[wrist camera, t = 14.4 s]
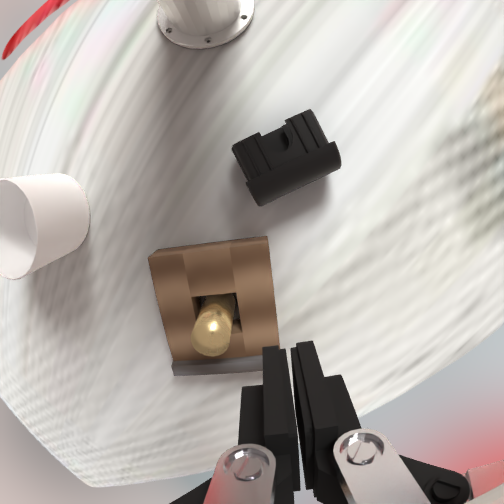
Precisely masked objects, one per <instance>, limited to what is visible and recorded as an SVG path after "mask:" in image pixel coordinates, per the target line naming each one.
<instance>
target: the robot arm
mask: <svg viewBox="0 0 504 504" xmlns="http://www.w3.org/2000/svg"><path fill="white" fill-rule="evenodd" d="M157 1H158V3H159V8H158V12H157V20H158V25H159V27H160V29H161V31H162V32H163V34H164V35H165V36H166V37H167V38H168V39H169V40H170V41H172V42H173V43H175V44H177V45H180V46H183V47H187V48H192V49H204V48H212V47H215V46H219V45H222V44H224V43H227V42H229V41H231V40H232V39H234V38H236V37H237V36H238V35H240V34H241V33H242V32H243V31H244V30H245V29H246V28H247V26H248V25H249V24H250V21H251V19H252V17H253V13H254V0H157ZM243 19H246V20H243ZM170 32H171V33H170ZM208 41H210V43H207V42H208ZM262 358H263V385H256V386H244V387H242V393H241V408H240V423H239V437H238V446H234V447H232V448H230V449H228V450H227V451H225V452H224V453H223V454H222V455H221V457H220V458H219V460H218V462H217V465H216V468H215V471H214V474H213V477H212V478H210V479H209V480H207V481H206V482H204V483H203V484H201V485H200V486H198V487H196V488H195V489H193V490H192V491H190V492H188V493H187V494H185V495H183V496H182V497H180V498H178V499H176V500H175V501H173V502H171V503H170V504H294V493H293V491H300V469H299V450H298V434H299V441H300V448H301V455H302V463H303V470H304V478H305V485H306V490H309V489H313V493H314V497H317V501H319V502H321V503H323V504H504V460H501V461H498V462H495V463H492V464H488V465H485V466H481V467H477V468H473V469H469V470H468V471H467V472H466V473H464V474H459V473H457V472H455V471H451V470H447V469H444V468H440V467H437V466H433V465H430V464H426V463H423V462H420V461H417V460H414V459H410V458H407V457H404V456H401V455H398V454H397V452H396V451H395V449H394V448H393V446H392V445H391V443H390V442H389V440H388V439H387V438H386V437H385V436H384V435H383V434H382V433H380V432H378V431H375V430H372V429H362V428H361V426H360V423H359V420H358V417H357V415H356V412H355V409H354V407H353V404H352V401H351V399H350V396H349V393H348V391H347V388H346V385H345V383H344V380H343V378H342V376H341V375H334V376H328V377H324V375H323V372H322V369H321V365H320V362H319V359H318V355H317V352H316V349H315V346H314V343H313V341H307V342H299V343H296V347H294V348H291V361H292V374H293V387H294V400H295V410H294V403H293V396H292V389H291V383H290V376H289V369H288V362H287V356H286V349H279V345H275V346H266V347H262ZM295 412H296V417H295ZM296 420H297V425H296ZM297 427H298V434H297Z"/></svg>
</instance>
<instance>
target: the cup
mask: <svg viewBox="0 0 504 504" xmlns="http://www.w3.org/2000/svg"><path fill="white" fill-rule="evenodd" d="M89 224H90V210H89V204H88V200H87V197H86V195H85V193H84V191H83V189H82V187H81V186H80V185H79V183H78V182H77V181H75V180H74V179H73V178H72V177H70V176H68V175H65V174H60V173H56V174H43V175H31V176H20V177H10V178H2V179H0V275H1V276H3V277H5V278H7V279H12V280H17V279H21V278H23V277H25V276H26V275H28V274H30V273H32V272H34V271H36V270H38V269H40V268H41V267H43V266H45V265H47V264H49V263H51V262H53V261H55V260H57V259H59V258H61V257H63V256H65V255H67V254H69V253H71V252H73V251H74V250H76V249H77V248H78V247H79V246H80V245H81V244H82V242H83V241H84V239H85V237H86V235H87V232H88V228H89Z"/></svg>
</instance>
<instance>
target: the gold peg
mask: <svg viewBox="0 0 504 504" xmlns="http://www.w3.org/2000/svg"><path fill="white" fill-rule="evenodd" d="M234 310H235V298H234V295H233V294H232V293H225V294H215V295H206V298H205V300H204V303H203V305H202V308H201V310H200V313H199V316H198V318H197V321H196V323H195V326H194V328H193V331H192V334H191V343H192V345H193V347H194V348H195V350H197V351H198V352H199V353H201V354H203V355H205V356H218V355H221V354H223V353H224V352H225V351H226V350H227V349H228V346H229V342H230V336H231V329H232V323H233V316H234Z"/></svg>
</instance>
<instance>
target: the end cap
mask: <svg viewBox="0 0 504 504" xmlns="http://www.w3.org/2000/svg"><path fill="white" fill-rule="evenodd" d="M285 122H286V124H285V125H283V126H282V127H281V128H279V129H277V130H275V131H272V132H270V133H268V134H266V135H264V136H261V134H260V133H259V132H258V133H256V134H254V135H252V136H250V137H248V138H246V139H244V140H242V141H240V142H238V143H236V144H234V145H233V146H232V151H233V153H234V155H235V157H236V159H237V161H238V163H239V165H240V167H241V169H242V171H243V172H244V174H245V176H246V178H247V180H248V181H247V182H246V185H247V187H248V189H249V191H250V193H251V194H252V196H253V198H254V200H255V202H256V203H257V205H258V206H263V205H265V204H267V203H269V202H271V201H273V200H275V199H277V198H279V197H281V196H283V195H285V194H287V193H289V192H292V191H294V190H296V189H298V188H300V187H302V186H304V185H306V184H308V183H310V182H312V181H315V180H317V179H319V178H321V177H323V176H325V175H327V174H330V173H332V172H334V171H336V170H338V169H340V167H341V157H340V154H339V150H338V148H337V145H336V143H335V141H333V142H331V143H328V141H327V139H326V137H325V135H324V133H323V131H322V129H321V127H320V125H319V123H318V121H317V119H316V117H315V115H314V113H313V112H312V111H311V109H309V110H307V111H304V112H302V113H300V114H297V115H295V116H293V117H291V118H288V119H286V120H285Z"/></svg>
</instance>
